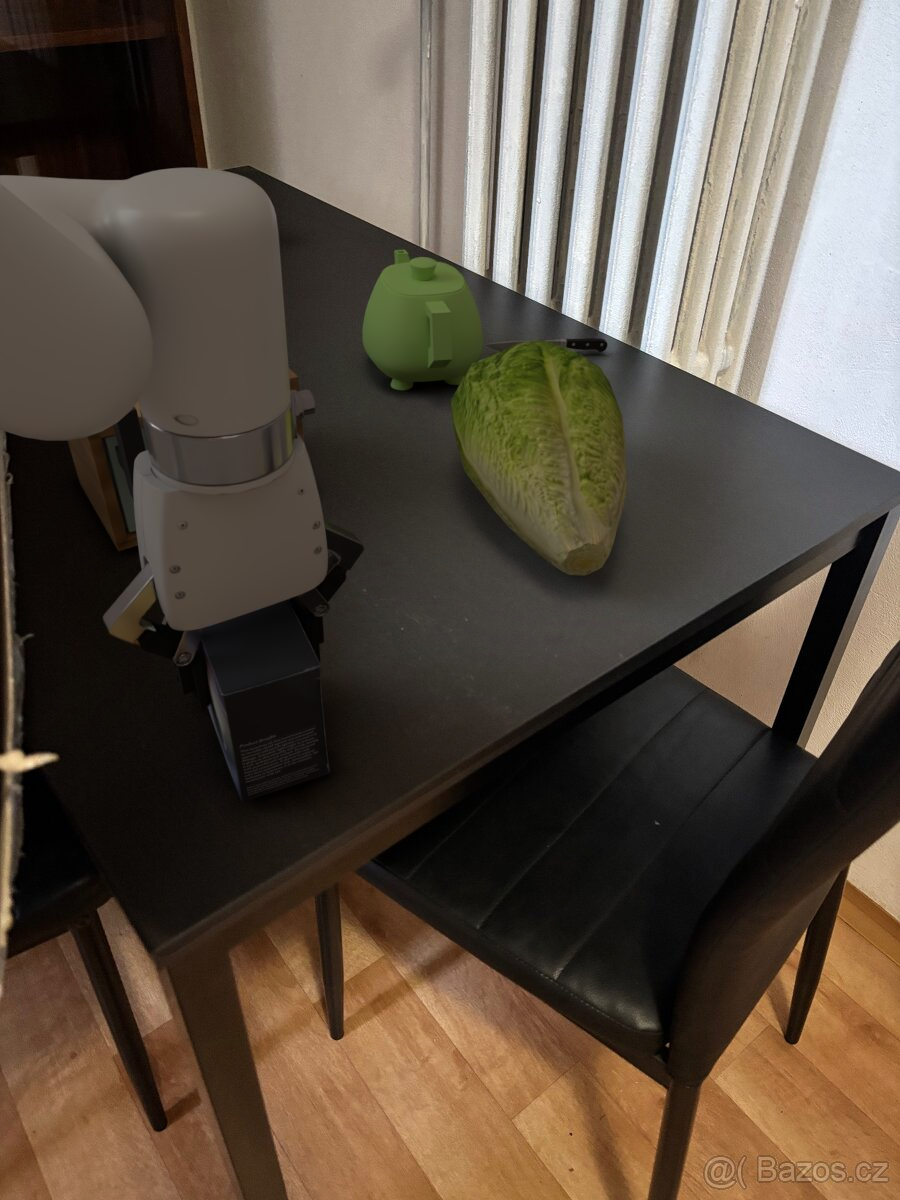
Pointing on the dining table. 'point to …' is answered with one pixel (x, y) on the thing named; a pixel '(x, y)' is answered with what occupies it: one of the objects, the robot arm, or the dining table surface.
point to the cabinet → (101, 481)
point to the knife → (569, 343)
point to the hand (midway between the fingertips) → (253, 671)
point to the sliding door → (126, 460)
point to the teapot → (422, 323)
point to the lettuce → (546, 450)
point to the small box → (266, 700)
